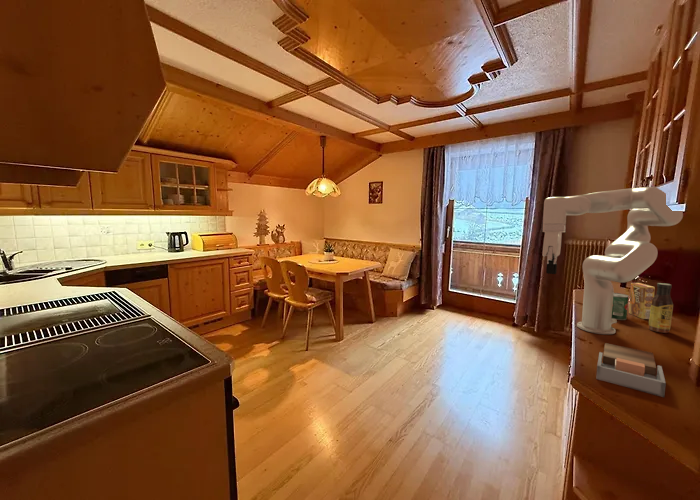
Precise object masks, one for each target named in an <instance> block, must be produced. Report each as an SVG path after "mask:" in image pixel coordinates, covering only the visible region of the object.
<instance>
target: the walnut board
mask: <svg viewBox="0 0 700 500" xmlns="http://www.w3.org/2000/svg"><path fill="white" fill-rule="evenodd" d="M616 358H620V359H625V360H629V361H633V362H638V363H642V364H644V365H645V371H644V373H645V374H649V375H653V376H656V375H657V366H656V360H655V357H654V353H653V352H651V351H646V350H641V349H637V348H636V349H635V348H631V347H626V346H622V345H616V344H612V343H607V342H605V343H604V347H603V355H602V363H604V364H608V365H612V366H615V359H616Z"/></svg>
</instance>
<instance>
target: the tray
mask: <svg viewBox="0 0 700 500" xmlns="http://www.w3.org/2000/svg"><path fill="white" fill-rule="evenodd" d="M603 354H604V352H601V351H599V353H598V358H597V359H598V360H597V364H596V376H595V377H596V380H598V381H603V382H607V383H611V384H614V385H618V386H621V387H625V388H629V389H631V390H636V391H639V392H643V393H647V394H651V395H654V396H658V397H661V398H665V393H666V387H667V386H666V383H667V382H666V379H665V375H664V371H663V366H662V365H657V366H656V375H655V376H653V375H649V374H645V373H644V377H643V376H639V375H635V374H631V373H627V372H623V371H619V370H615V366H612V365H608V364H604V363H603Z"/></svg>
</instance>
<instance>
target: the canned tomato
mask: <svg viewBox="0 0 700 500" xmlns="http://www.w3.org/2000/svg"><path fill="white" fill-rule="evenodd" d="M629 298H630V295H628V294H624V293H619V292H614V295H613V305H612V318H611V319H616V320H618V321H626V320H627V319H628V318H627V317H628V308H629V305H628V304H629Z"/></svg>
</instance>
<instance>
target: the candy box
mask: <svg viewBox="0 0 700 500" xmlns="http://www.w3.org/2000/svg"><path fill="white" fill-rule="evenodd" d="M629 291H630V293H629V302H628V304H629V305H628V313H629V314H630V315H632V316H635V317H637V318H640V319H641V320H649V317H650V309H651V304H652V299H653V297H654V296H655V291H656V288H655V286H652V285H649V284H644V283H641V282H631V283H630V290H629Z"/></svg>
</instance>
